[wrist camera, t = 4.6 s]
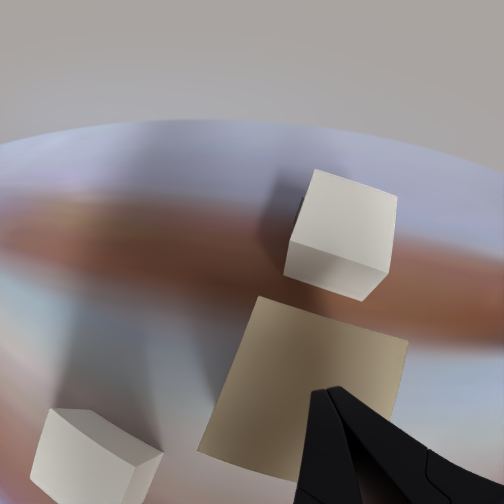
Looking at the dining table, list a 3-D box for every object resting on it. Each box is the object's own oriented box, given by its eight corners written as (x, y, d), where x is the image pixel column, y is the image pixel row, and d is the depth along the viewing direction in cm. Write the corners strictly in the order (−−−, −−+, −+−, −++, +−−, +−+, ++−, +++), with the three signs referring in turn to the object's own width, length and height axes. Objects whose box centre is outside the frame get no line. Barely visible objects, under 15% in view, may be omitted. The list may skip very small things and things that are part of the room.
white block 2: (374, 234, 22) (397, 196, 18) (361, 302, 20) (388, 273, 15) (302, 210, 23) (311, 167, 19) (279, 274, 21) (285, 238, 16)
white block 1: (164, 452, 15) (135, 467, 10) (138, 513, 12) (107, 537, 8) (89, 408, 16) (47, 405, 11) (68, 468, 13) (27, 476, 9)
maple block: (343, 367, 17) (408, 340, 9) (314, 452, 15) (362, 492, 7) (257, 341, 18) (258, 295, 10) (224, 425, 16) (197, 450, 8)
